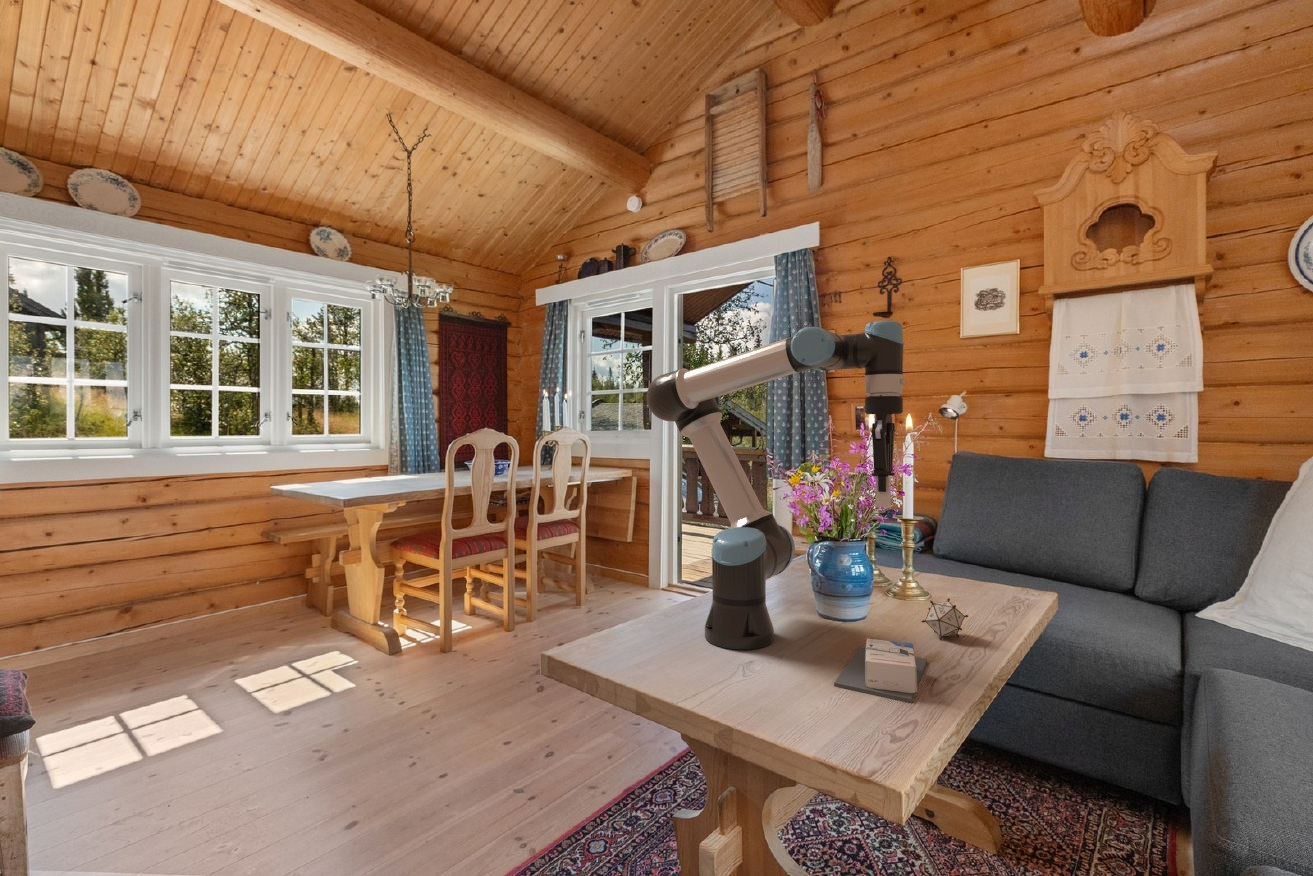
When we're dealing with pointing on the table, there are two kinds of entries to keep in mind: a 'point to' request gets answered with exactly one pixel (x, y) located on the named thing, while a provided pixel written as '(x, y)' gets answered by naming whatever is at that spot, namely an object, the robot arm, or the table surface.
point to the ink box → (890, 666)
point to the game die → (944, 618)
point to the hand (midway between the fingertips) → (883, 506)
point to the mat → (855, 680)
